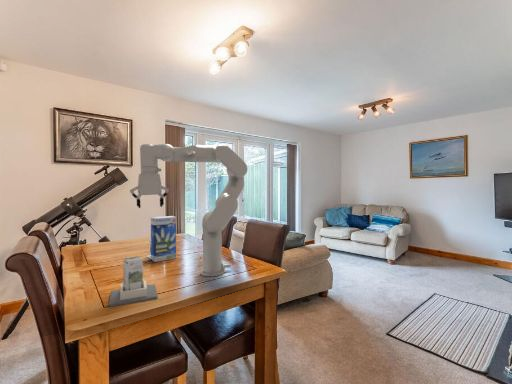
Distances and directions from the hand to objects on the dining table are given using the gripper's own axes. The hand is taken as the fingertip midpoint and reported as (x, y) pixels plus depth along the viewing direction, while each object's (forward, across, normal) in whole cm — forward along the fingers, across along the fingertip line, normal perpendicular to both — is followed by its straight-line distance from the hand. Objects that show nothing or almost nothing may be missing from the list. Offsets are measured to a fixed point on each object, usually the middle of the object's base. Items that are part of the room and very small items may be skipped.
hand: (150, 207), depth 125 cm
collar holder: (+35, +9, +16) cm, 39 cm away
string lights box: (+35, -10, -34) cm, 50 cm away
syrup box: (+34, +9, +16) cm, 38 cm away
